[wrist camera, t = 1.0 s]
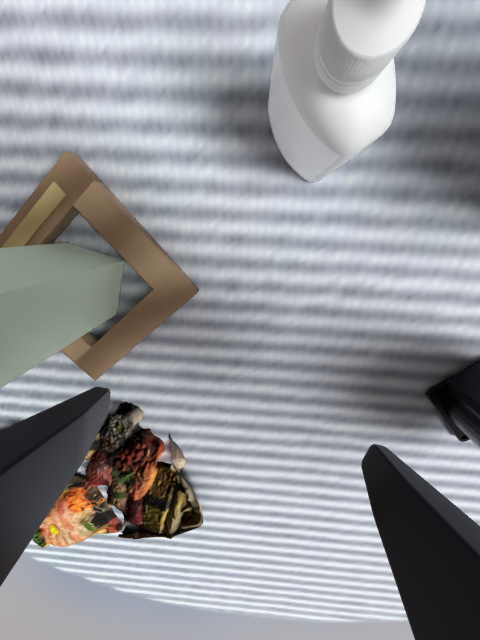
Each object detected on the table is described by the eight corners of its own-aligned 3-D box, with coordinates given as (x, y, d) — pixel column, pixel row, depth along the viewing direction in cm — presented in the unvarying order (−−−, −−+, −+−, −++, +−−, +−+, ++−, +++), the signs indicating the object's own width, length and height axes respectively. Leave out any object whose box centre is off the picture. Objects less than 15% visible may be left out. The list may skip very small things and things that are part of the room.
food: (155, 379, 24) (139, 405, 21) (220, 512, 30) (216, 549, 27) (-36, 427, 27) (-76, 456, 24) (58, 539, 33) (37, 574, 30)
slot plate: (199, 289, 20) (195, 294, 19) (103, 373, 23) (93, 382, 22) (78, 155, 17) (63, 149, 16) (-14, 270, 21) (-32, 272, 19)
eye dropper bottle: (271, 189, 18) (304, 122, 6) (266, 86, 16) (296, -264, 4) (338, 180, 17) (496, 95, 6) (339, 75, 15) (573, -337, 4)
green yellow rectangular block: (124, 260, 20) (-85, 315, 8) (116, 313, 21) (-68, 431, 9) (65, 242, 20) (-248, 269, 7) (62, 297, 21) (-202, 396, 9)
